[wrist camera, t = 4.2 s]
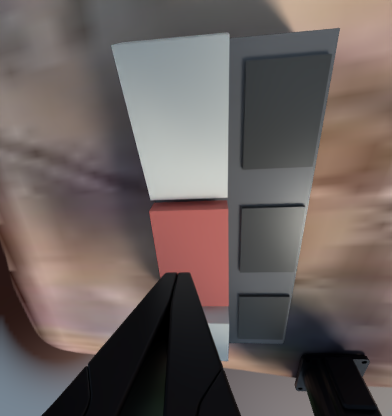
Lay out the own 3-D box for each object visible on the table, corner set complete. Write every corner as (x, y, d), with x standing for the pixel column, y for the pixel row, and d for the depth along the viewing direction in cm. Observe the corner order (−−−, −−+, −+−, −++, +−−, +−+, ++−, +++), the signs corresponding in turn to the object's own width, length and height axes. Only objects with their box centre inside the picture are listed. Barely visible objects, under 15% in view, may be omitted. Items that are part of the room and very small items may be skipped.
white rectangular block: (226, 185, 11) (227, 197, 10) (154, 188, 12) (150, 200, 11) (227, 32, 7) (229, 33, 7) (120, 42, 8) (110, 45, 7)
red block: (227, 292, 14) (228, 306, 13) (167, 292, 14) (164, 305, 13) (226, 200, 11) (228, 209, 10) (153, 202, 11) (149, 211, 10)
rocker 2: (227, 345, 17) (228, 361, 16) (180, 345, 18) (178, 359, 17) (228, 306, 13) (229, 323, 13) (167, 305, 14) (165, 323, 13)
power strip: (271, 300, 21) (286, 354, 16) (183, 299, 21) (176, 352, 17) (302, 45, 12) (351, 22, 8) (151, 58, 13) (121, 44, 8)
